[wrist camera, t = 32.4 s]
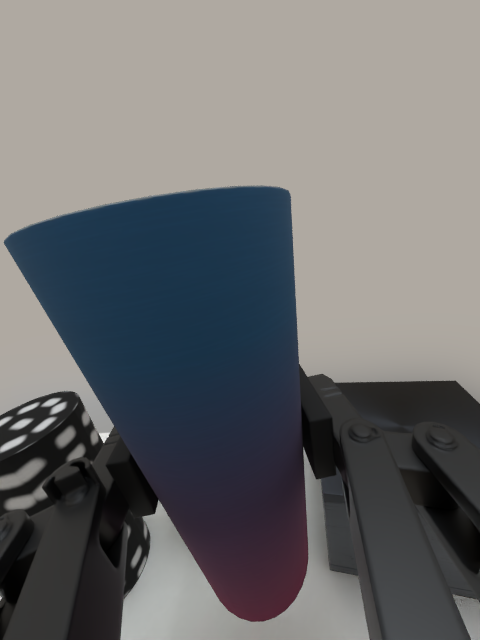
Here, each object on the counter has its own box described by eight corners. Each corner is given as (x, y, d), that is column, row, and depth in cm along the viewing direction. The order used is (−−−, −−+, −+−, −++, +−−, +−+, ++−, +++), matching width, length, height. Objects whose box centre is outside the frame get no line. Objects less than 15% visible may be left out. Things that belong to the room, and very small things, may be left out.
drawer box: (444, 450, 30) (455, 380, 26) (554, 614, 17) (605, 524, 13) (317, 443, 34) (311, 383, 30) (329, 570, 22) (322, 493, 18)
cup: (304, 733, 7) (126, 155, 2) (158, 585, 11) (-32, 259, 6) (341, 505, 12) (320, 194, 7) (235, 459, 16) (173, 234, 11)
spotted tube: (48, 609, 23) (-85, 469, 16) (109, 514, 30) (36, 392, 24) (116, 630, 21) (-4, 478, 14) (163, 522, 28) (100, 390, 21)
